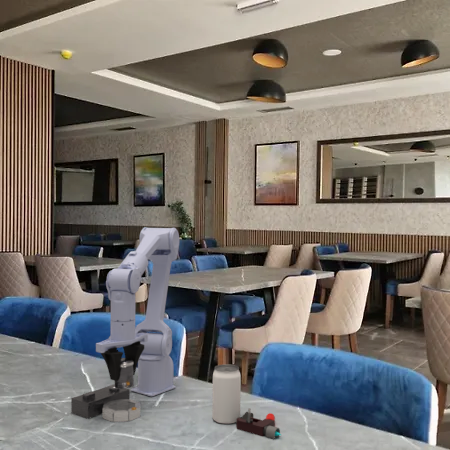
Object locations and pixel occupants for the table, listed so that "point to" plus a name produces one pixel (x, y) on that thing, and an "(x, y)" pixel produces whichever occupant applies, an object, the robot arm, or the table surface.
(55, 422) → the table surface
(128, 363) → the lens
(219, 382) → the can
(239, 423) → the toy gun
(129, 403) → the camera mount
